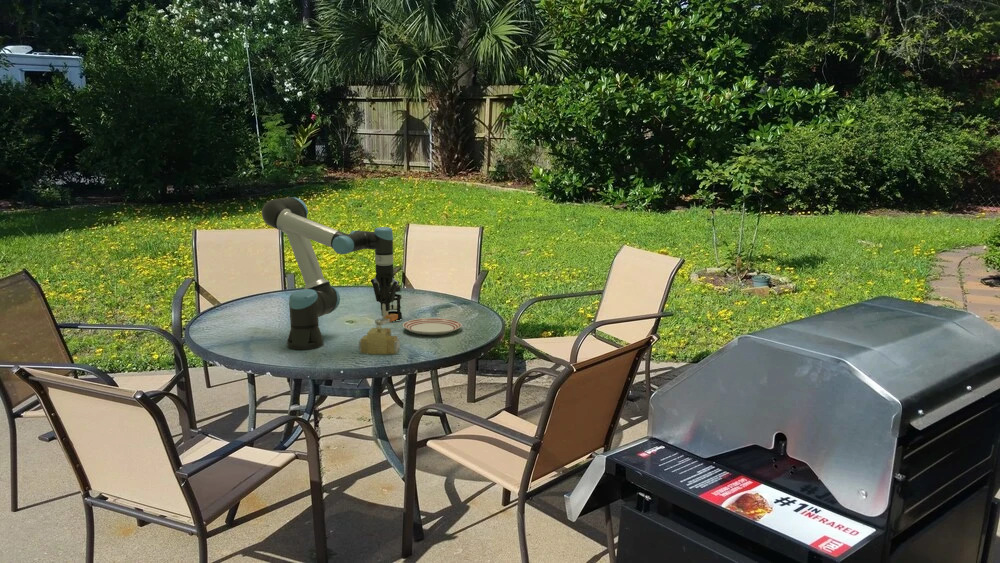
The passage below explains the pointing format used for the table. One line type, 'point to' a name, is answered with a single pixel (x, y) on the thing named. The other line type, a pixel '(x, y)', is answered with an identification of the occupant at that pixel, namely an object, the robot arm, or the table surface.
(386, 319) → the valve lever
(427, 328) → the dinner plate
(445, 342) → the table surface
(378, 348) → the valve pipe
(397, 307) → the french press
